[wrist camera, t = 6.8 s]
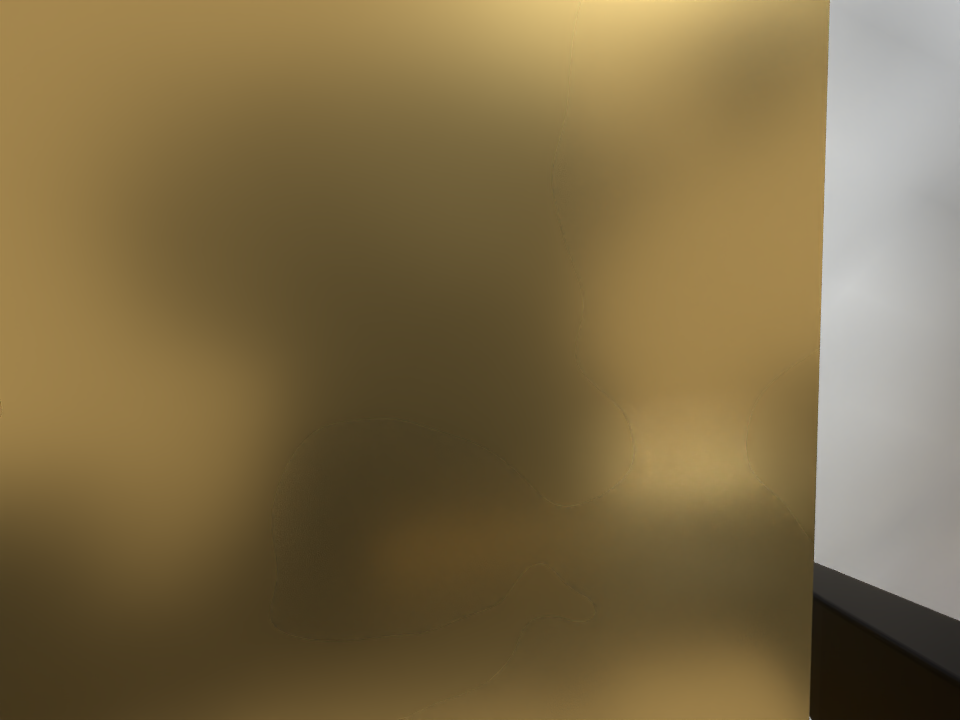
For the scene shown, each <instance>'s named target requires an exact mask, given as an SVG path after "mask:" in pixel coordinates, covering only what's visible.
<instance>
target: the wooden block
mask: <svg viewBox="0 0 960 720" xmlns="http://www.w3.org/2000/svg"><path fill="white" fill-rule="evenodd" d="M829 6H830V0H0V720H809V708H810V673H811V638H812V603H813V568H814V533H815V498H816V462H817V427H818V392H819V357H820V322H821V287H822V252H823V217H824V182H825V147H826V112H827V76H828V41H829Z"/></svg>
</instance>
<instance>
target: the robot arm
mask: <svg viewBox="0 0 960 720" xmlns="http://www.w3.org/2000/svg"><path fill="white" fill-rule="evenodd" d="M809 716H810V718H811V719H812V720H960V621H958V620H956V619H954V618H951V617H949V616H946V615H944V614H941V613H939V612H936V611H934V610H931V609H929V608H926V607H924V606H921V605H919V604H917V603H914V602H912V601H909V600H907V599H904V598H902V597H899V596H897V595H894V594H892V593H889V592H887V591H884V590H882V589H879V588H877V587H875V586H872V585H870V584H867V583H865V582H862V581H860V580H857V579H855V578H852V577H850V576H847V575H845V574H842V573H840V572H838V571H835V570H833V569H830V568H828V567H825V566H823V565H820V564H818V563H815V562H814V568H813V603H812V638H811V673H810V708H809Z"/></svg>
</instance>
